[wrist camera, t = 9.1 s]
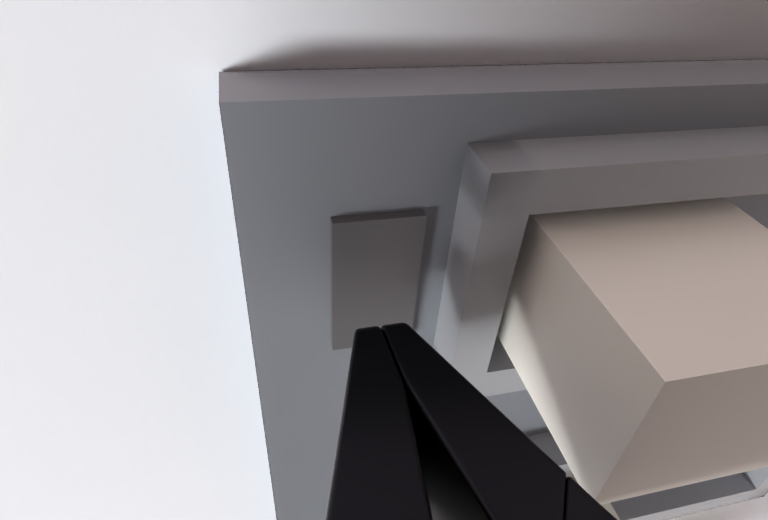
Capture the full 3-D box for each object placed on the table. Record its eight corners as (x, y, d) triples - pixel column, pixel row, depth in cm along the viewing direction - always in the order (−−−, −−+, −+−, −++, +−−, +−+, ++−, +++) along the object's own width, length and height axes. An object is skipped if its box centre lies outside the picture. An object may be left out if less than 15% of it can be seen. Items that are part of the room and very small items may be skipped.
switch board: (785, 439, 23) (830, 488, 21) (282, 547, 18) (288, 621, 16) (1136, 50, 13) (1275, 84, 11) (218, 71, 8) (219, 134, 6)
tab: (654, 302, 12) (798, 459, 9) (491, 324, 11) (591, 507, 8) (712, 187, 10) (916, 337, 7) (522, 203, 9) (665, 381, 6)
